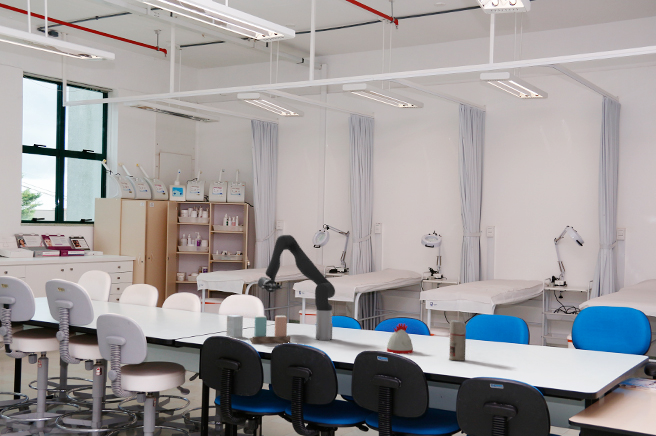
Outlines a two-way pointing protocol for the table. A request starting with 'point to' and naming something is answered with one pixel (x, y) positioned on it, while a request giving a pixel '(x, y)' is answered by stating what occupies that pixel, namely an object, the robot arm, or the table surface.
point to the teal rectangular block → (260, 326)
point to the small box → (234, 325)
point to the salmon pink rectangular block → (280, 326)
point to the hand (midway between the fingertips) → (274, 287)
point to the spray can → (457, 340)
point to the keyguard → (270, 339)
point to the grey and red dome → (400, 341)
